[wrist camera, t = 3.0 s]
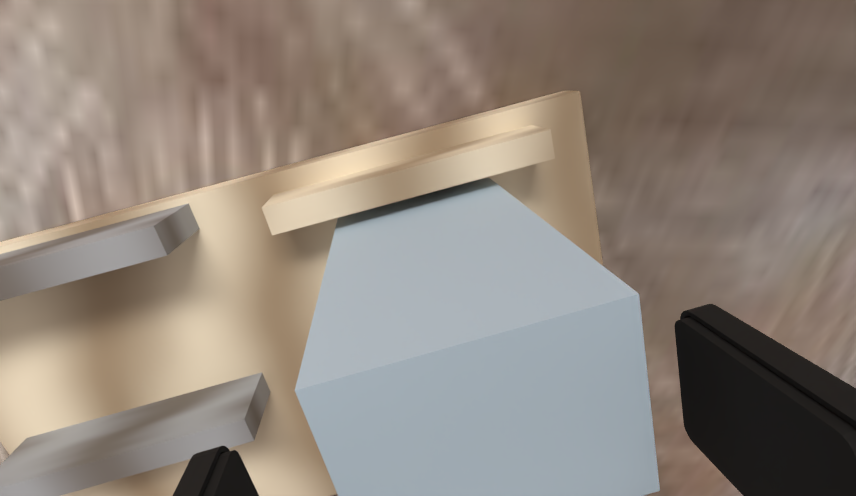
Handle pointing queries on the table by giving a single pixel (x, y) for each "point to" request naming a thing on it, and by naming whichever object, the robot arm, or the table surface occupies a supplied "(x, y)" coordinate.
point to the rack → (229, 305)
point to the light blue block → (475, 357)
